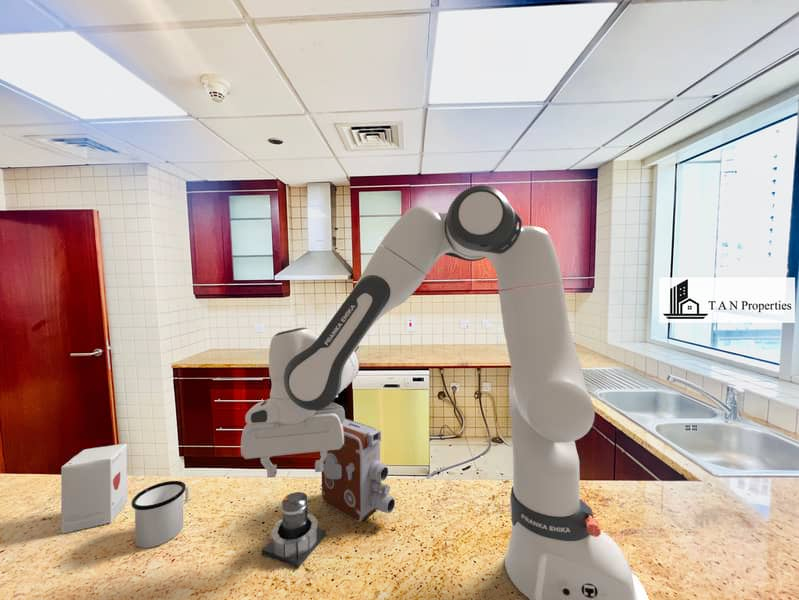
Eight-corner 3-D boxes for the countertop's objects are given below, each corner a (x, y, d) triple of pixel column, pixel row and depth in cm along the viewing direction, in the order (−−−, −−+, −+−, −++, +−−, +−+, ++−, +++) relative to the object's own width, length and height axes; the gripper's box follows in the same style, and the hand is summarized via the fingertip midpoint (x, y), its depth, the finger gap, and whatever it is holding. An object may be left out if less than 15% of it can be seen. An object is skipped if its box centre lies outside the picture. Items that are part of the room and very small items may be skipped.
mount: (326, 534, 68) (325, 517, 68) (298, 568, 59) (297, 548, 59) (292, 524, 71) (292, 507, 71) (261, 554, 63) (261, 535, 63)
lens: (311, 527, 69) (310, 490, 69) (305, 546, 63) (304, 505, 63) (286, 529, 68) (285, 491, 68) (278, 548, 63) (277, 507, 63)
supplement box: (112, 523, 72) (110, 458, 72) (60, 535, 69) (58, 467, 69) (129, 500, 80) (128, 442, 80) (83, 509, 77) (82, 448, 77)
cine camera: (375, 540, 66) (374, 445, 66) (316, 504, 78) (315, 424, 78) (401, 515, 74) (400, 430, 73) (344, 486, 85) (343, 413, 85)
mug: (158, 554, 63) (157, 509, 63) (119, 548, 65) (118, 504, 65) (205, 513, 75) (204, 476, 75) (171, 509, 77) (170, 472, 77)
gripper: (344, 397, 70) (347, 460, 70) (247, 405, 67) (249, 470, 67) (343, 407, 64) (346, 475, 64) (236, 416, 61) (239, 488, 61)
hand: (295, 473), depth 65 cm, fingers open, 8 cm apart
